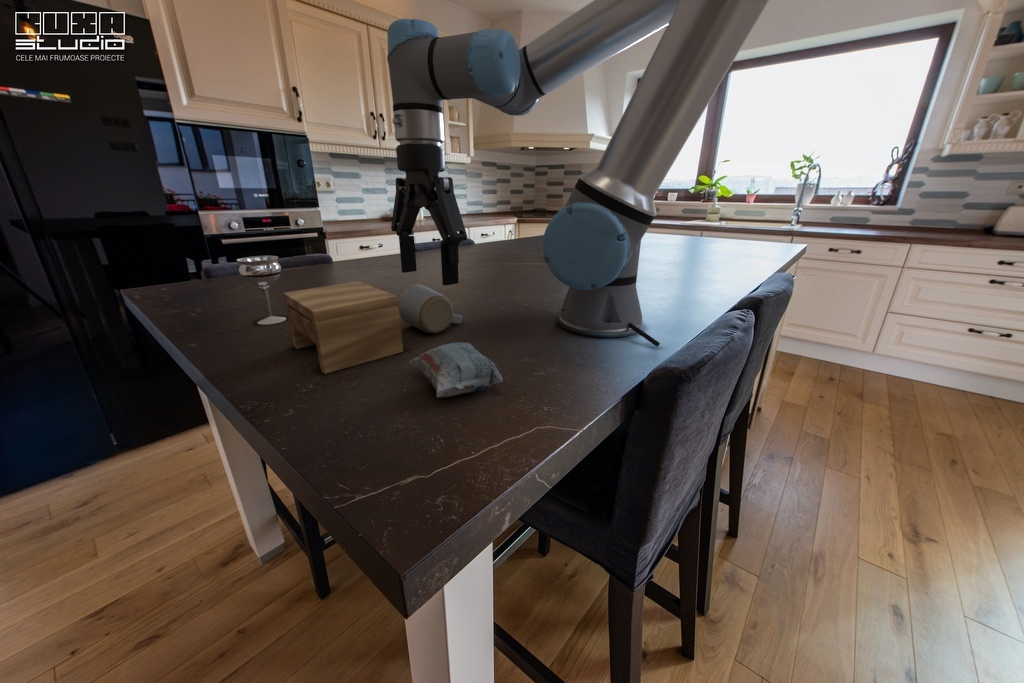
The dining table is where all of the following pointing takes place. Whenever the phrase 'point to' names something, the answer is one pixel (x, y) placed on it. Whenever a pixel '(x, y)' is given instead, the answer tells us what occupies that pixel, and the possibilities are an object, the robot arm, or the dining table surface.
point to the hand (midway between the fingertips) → (428, 277)
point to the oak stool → (345, 323)
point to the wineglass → (261, 278)
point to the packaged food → (457, 369)
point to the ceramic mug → (426, 309)
